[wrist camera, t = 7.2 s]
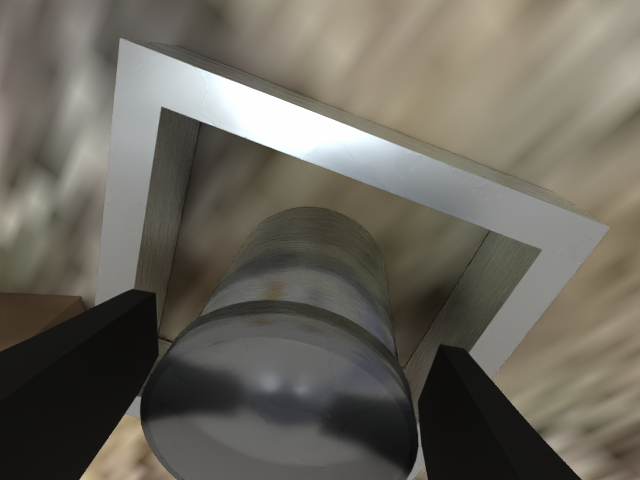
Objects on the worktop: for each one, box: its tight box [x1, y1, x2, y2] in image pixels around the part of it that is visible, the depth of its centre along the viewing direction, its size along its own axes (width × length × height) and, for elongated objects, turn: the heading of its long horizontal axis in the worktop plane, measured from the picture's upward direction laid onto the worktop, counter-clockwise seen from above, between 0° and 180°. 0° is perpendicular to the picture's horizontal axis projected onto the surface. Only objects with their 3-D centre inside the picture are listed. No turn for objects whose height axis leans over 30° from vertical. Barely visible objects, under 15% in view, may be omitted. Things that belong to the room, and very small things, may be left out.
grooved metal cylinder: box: [140, 207, 419, 480], centre depth 9 cm, size 5×5×6 cm
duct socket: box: [94, 38, 610, 480], centre depth 11 cm, size 11×12×2 cm
